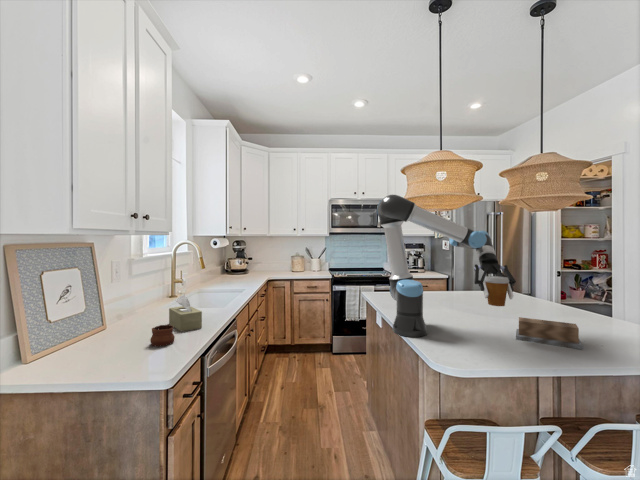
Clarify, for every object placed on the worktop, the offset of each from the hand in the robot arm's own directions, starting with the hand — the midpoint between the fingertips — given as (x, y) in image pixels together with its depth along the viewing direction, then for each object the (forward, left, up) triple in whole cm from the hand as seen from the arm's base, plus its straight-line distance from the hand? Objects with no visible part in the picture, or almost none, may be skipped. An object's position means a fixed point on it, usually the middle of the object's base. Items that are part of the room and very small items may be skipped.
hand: (499, 296), depth 131 cm
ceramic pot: (-114, -82, -19) cm, 142 cm away
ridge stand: (+17, +12, -18) cm, 28 cm away
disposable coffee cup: (-1, +3, -4) cm, 5 cm away
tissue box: (-130, -61, -19) cm, 145 cm away
